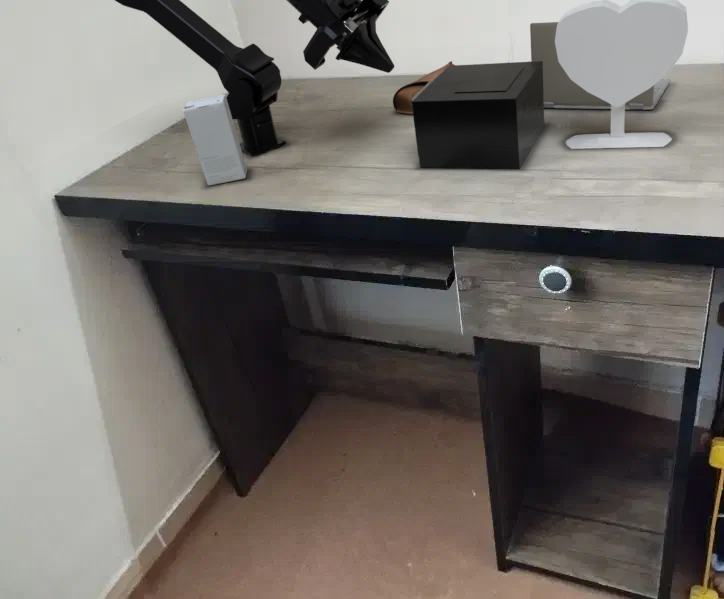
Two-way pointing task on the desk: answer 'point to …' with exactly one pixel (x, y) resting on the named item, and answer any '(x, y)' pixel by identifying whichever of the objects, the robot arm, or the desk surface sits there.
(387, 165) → the desk surface
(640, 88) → the heart sculpture
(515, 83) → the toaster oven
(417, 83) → the sunglasses case
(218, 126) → the cosmetic box
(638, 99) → the laptop
